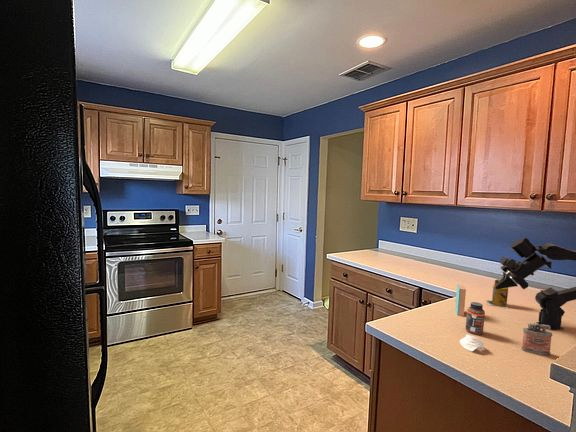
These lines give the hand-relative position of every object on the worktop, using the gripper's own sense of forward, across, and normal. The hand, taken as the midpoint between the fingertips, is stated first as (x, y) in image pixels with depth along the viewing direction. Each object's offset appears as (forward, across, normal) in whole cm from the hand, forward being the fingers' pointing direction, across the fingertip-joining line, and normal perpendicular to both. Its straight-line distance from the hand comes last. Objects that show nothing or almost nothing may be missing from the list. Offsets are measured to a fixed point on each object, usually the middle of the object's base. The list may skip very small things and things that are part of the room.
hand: (495, 288), depth 136 cm
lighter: (+5, +28, +14) cm, 32 cm away
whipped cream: (+19, +34, 0) cm, 39 cm away
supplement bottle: (+17, +19, +2) cm, 26 cm away
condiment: (+5, -21, +14) cm, 25 cm away
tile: (+19, 0, 0) cm, 19 cm away
